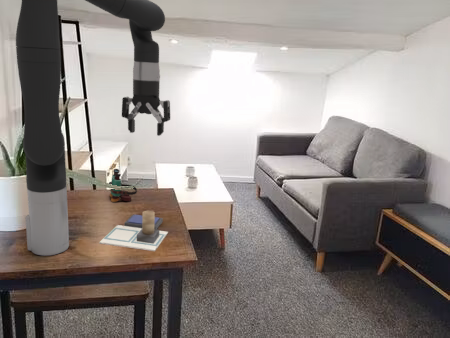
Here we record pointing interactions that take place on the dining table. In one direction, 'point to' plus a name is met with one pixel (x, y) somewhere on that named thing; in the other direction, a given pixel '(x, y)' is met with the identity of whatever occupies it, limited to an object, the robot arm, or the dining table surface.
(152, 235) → the stamp
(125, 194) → the binoculars
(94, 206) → the dining table surface
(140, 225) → the ink pad
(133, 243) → the form board
